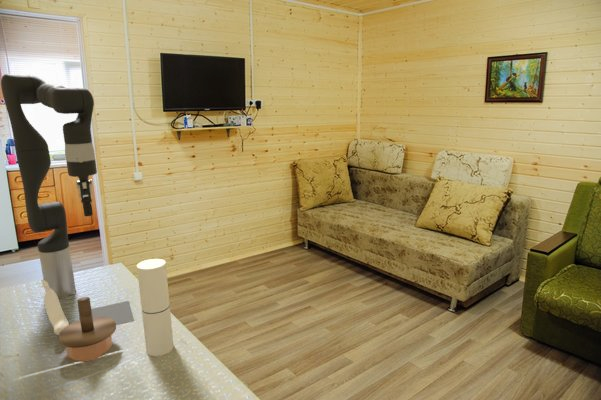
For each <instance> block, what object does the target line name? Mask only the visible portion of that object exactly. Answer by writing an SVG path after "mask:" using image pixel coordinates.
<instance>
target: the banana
mask: <svg viewBox="0 0 601 400" xmlns="http://www.w3.org/2000/svg"><path fill="white" fill-rule="evenodd" d="M40 281H41V283H42V286H41V287H42V288H44V291H45V290H46V292H45V293H44V295H43V296H44V297H43V298H44V299H43V300H44V301H43V302H44V307H45V311H46V314H47V318H48V319H49V322H50V325H52V327H53V332H54V334H55V335H56V336H59V333H60V332H61V331H62V330H63V329H64V328H65V327H67V326H68V325H70V323H69V321H68V319H67V317H66V315H65V313H64V310H63V309H62V305H61V302H60V300H59V299H60V298H58V297H57V295H56V293H55V292H54V290H52V289H51V288H50V287H49V285H48V282H46V281H45V280H43V279H41V280H40Z"/></svg>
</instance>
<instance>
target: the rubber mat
mask: <svg viewBox="0 0 601 400" xmlns="http://www.w3.org/2000/svg"><path fill="white" fill-rule="evenodd" d="M91 311H92V317H109V318H112V319H113V320H114V321H115V322H116V326H118V325H123V324H126V323H132V322H135V318H134V315H133V311H132V308H131V304H130V301H129V300H127V301H121V302H116V303H112V304H107V305H102V306H99V307H93V308H91ZM78 317H79V319H78V321H79V320H80V316H79V315H78Z"/></svg>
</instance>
